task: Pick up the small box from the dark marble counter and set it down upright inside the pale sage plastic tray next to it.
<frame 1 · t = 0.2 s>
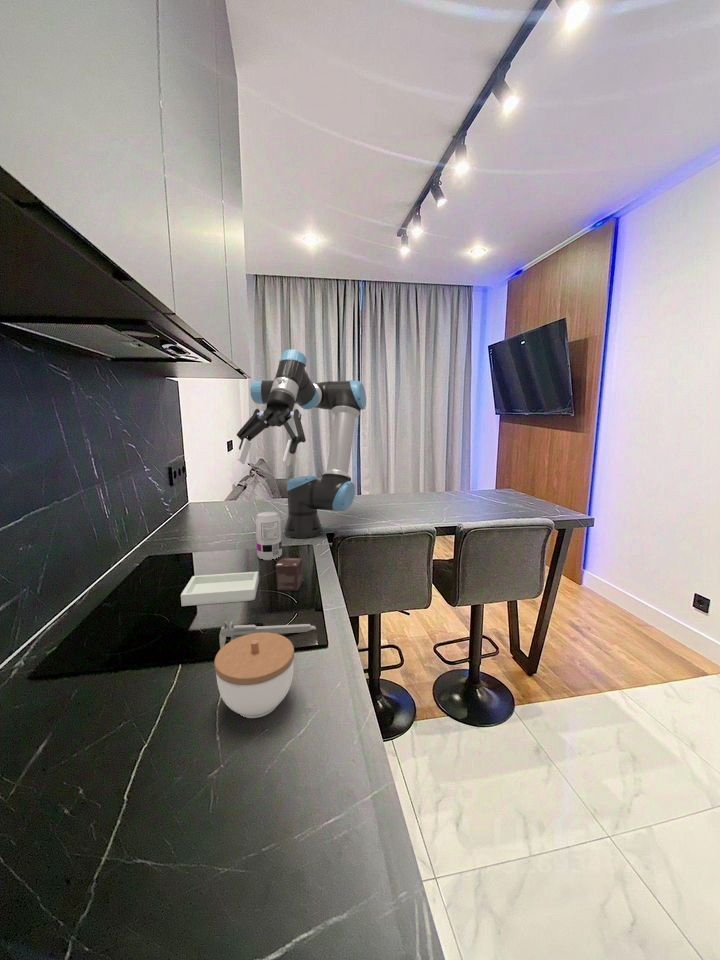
hand: (262, 462, 105), 35 cm above the worktop, tool tilted 35°, fingers open, 13 cm apart
caliper: (270, 640, 85), on the worktop
lidded bowl: (257, 703, 66), on the worktop
supplement can: (269, 557, 134), on the worktop
box: (290, 587, 111), on the worktop
tray: (222, 592, 107), on the worktop
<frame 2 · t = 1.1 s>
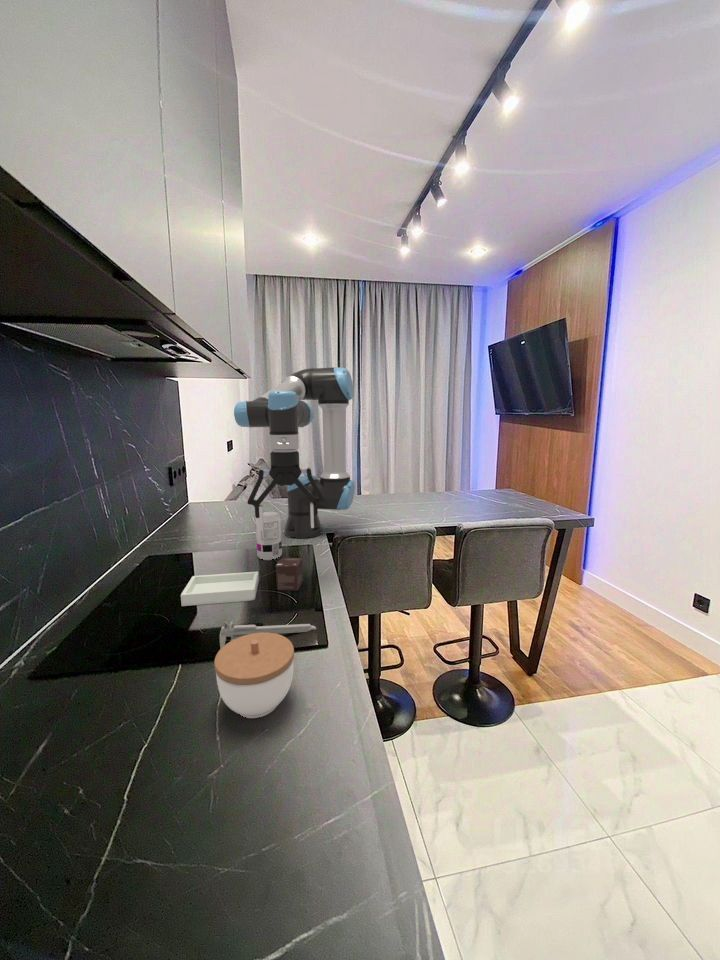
hand: (287, 528, 108), 17 cm above the worktop, tool pointing down, fingers open, 13 cm apart
nothing on the worktop moved.
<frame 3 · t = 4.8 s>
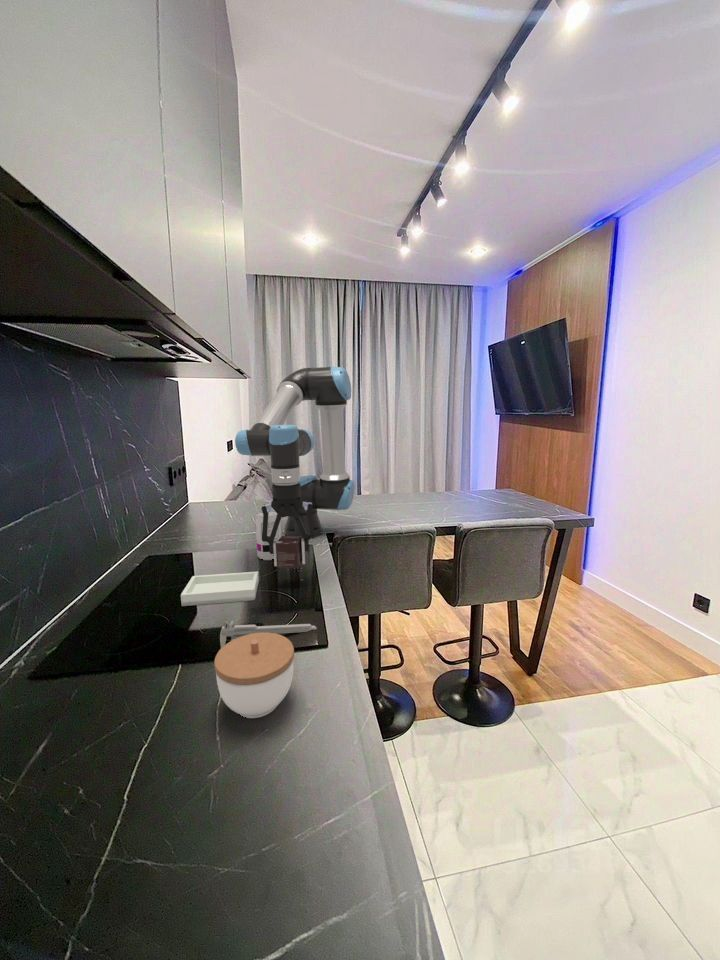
hand: (289, 563, 110), 7 cm above the worktop, tool pointing down, fingers closed on box, 7 cm apart
box: (290, 565, 110), point 6 cm above the worktop, touching gripper
everything else where it was.
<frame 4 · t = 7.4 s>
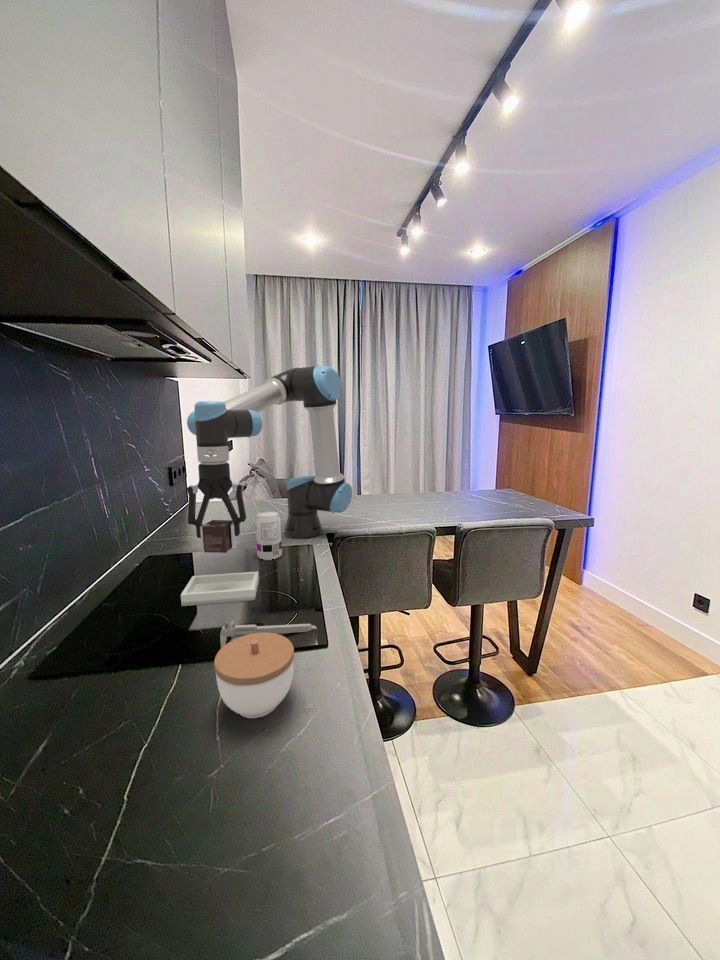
hand: (219, 548, 104), 13 cm above the worktop, tool pointing down, fingers closed on box, 7 cm apart
box: (219, 550, 105), point 12 cm above the worktop, touching gripper
everything else where it was.
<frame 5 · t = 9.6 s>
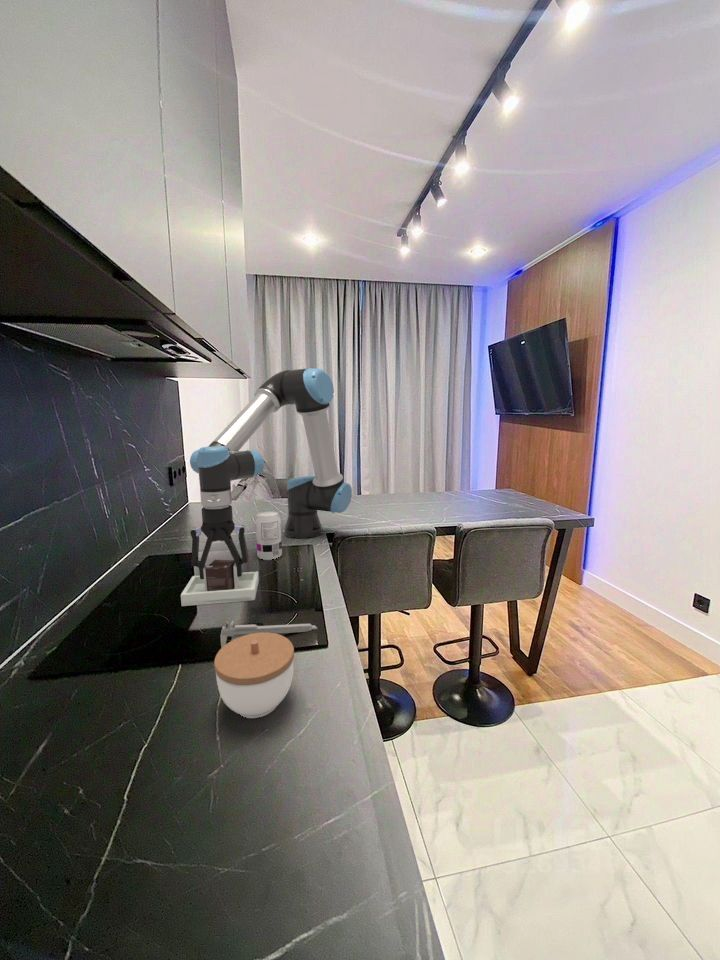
hand: (222, 588, 106), 1 cm above the worktop, tool pointing down, fingers closed on box, 7 cm apart
box: (222, 590, 106), point 1 cm above the worktop, touching gripper, tray
everything else where it was.
when the fingers open (1 cm above the worktop, at t = 10.1 s): box stays where it is, resting on tray.
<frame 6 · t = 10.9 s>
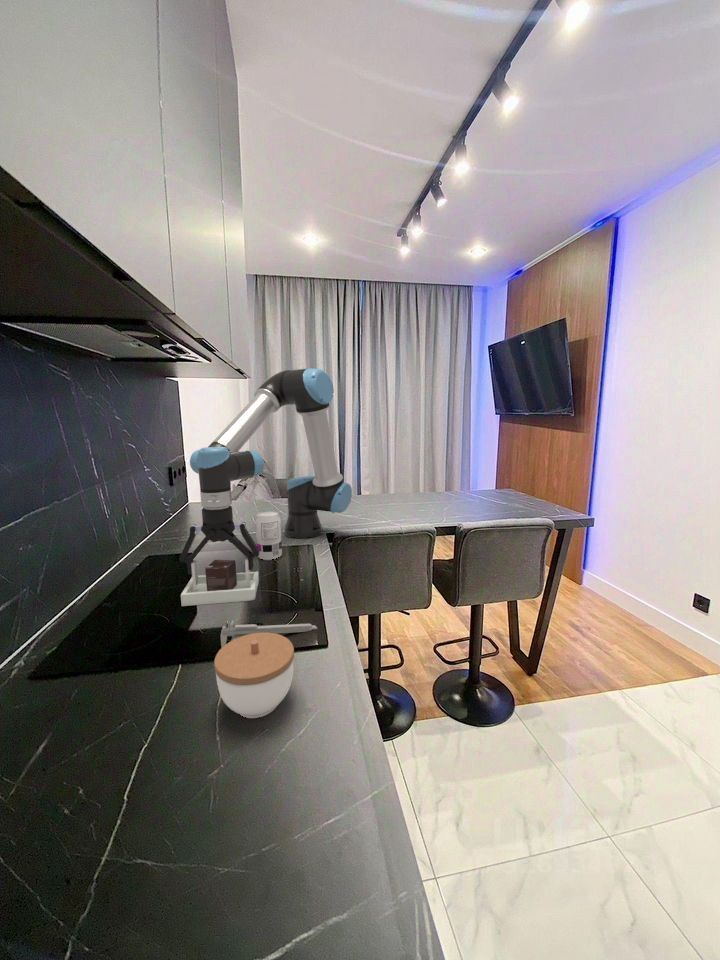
hand: (222, 583, 106), 3 cm above the worktop, tool pointing down, fingers open, 13 cm apart
box: (222, 590, 106), point 1 cm above the worktop, touching tray
everything else where it was.
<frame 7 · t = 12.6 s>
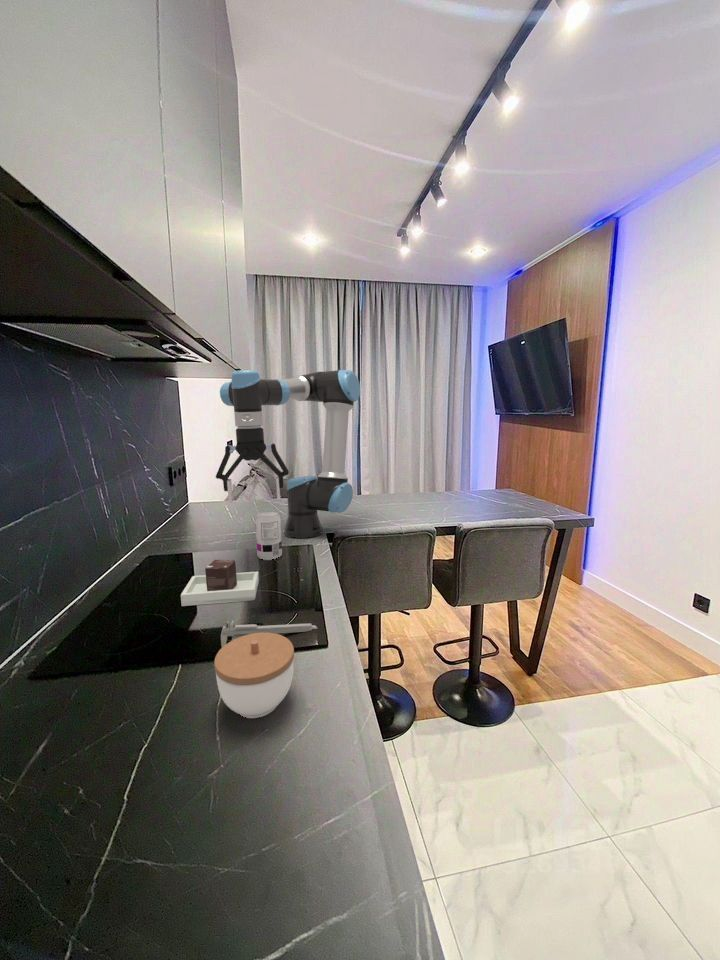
hand: (255, 500, 115), 23 cm above the worktop, tool pointing down, fingers open, 13 cm apart
nothing on the worktop moved.
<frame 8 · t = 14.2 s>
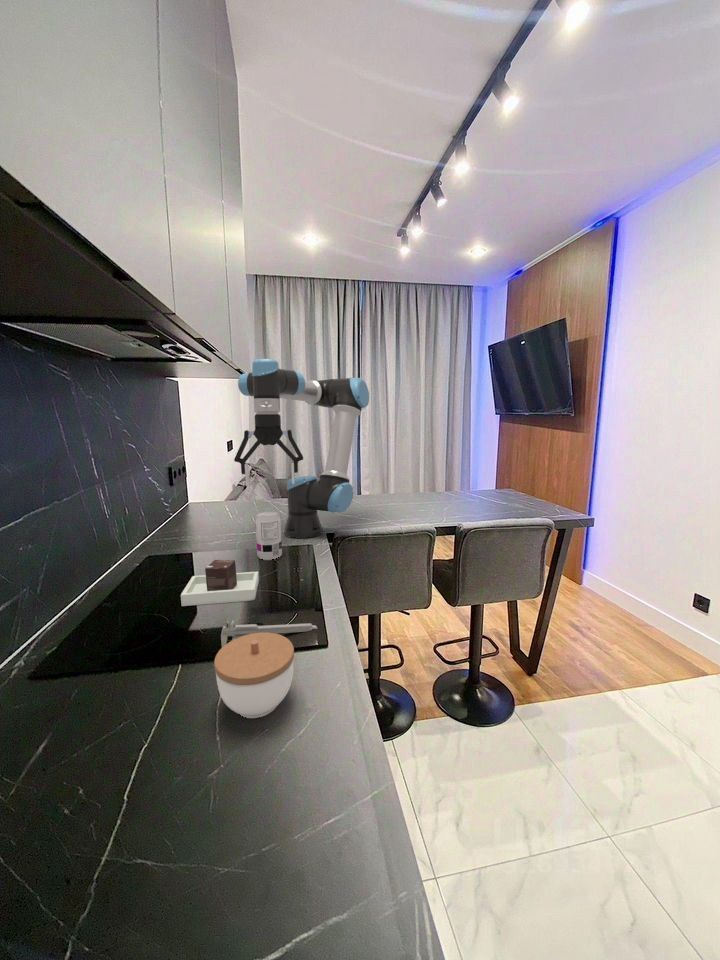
hand: (270, 484, 120), 27 cm above the worktop, tool pointing down, fingers open, 13 cm apart
nothing on the worktop moved.
at the end: box inside the target area on the tray (0.0 cm from its centre), point 0.8 cm above the tray's base; box tilted 0°; the gripper is holding nothing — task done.
